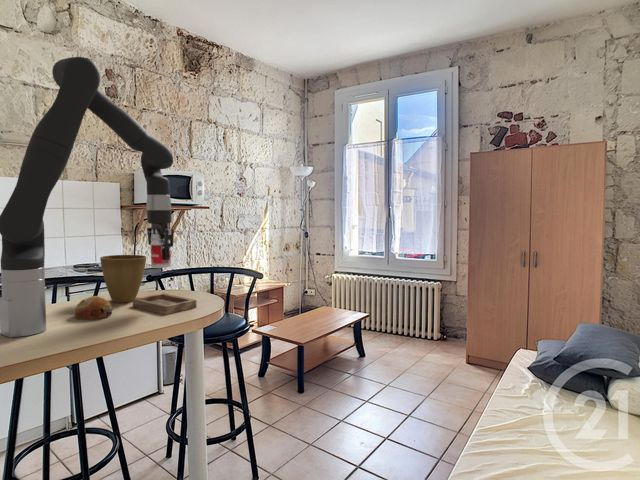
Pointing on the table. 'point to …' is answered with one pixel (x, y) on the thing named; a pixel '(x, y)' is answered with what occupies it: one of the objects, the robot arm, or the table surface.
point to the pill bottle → (158, 254)
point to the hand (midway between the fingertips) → (161, 258)
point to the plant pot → (123, 276)
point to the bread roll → (93, 308)
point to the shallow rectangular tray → (164, 303)
